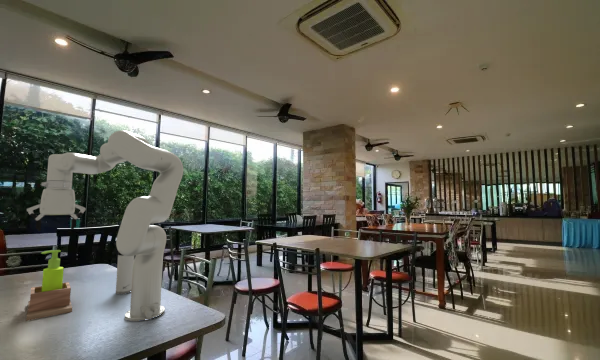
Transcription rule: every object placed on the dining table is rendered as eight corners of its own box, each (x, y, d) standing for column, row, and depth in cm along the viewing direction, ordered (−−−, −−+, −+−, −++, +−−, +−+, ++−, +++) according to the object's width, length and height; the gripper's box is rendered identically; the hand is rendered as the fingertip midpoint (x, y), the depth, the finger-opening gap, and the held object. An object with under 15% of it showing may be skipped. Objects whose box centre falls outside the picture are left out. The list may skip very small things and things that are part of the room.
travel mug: (127, 294, 121) (129, 248, 122) (112, 294, 121) (115, 247, 123) (136, 290, 127) (138, 245, 129) (121, 290, 127) (124, 245, 129)
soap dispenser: (33, 306, 103) (38, 251, 105) (56, 300, 109) (60, 248, 111) (41, 308, 100) (45, 252, 102) (64, 302, 106) (68, 249, 108)
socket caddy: (72, 311, 102) (73, 290, 102) (26, 320, 93) (28, 297, 94) (68, 297, 116) (69, 279, 117) (28, 304, 108) (29, 285, 109)
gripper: (28, 184, 100) (24, 232, 99) (88, 186, 112) (85, 229, 110) (28, 185, 106) (25, 231, 104) (85, 187, 117) (83, 228, 116)
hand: (56, 230), depth 107 cm, fingers open, 9 cm apart
